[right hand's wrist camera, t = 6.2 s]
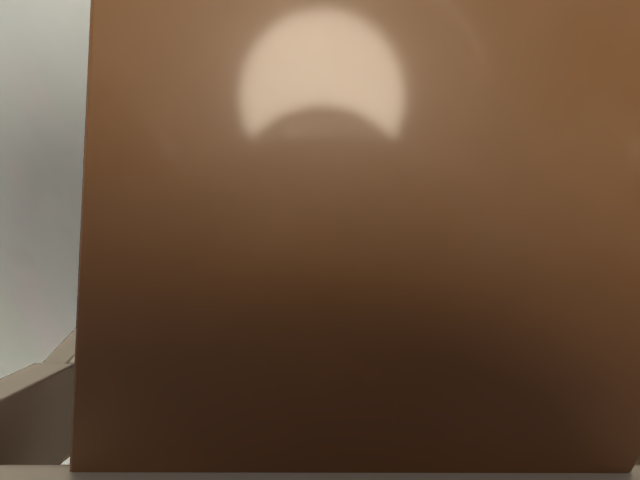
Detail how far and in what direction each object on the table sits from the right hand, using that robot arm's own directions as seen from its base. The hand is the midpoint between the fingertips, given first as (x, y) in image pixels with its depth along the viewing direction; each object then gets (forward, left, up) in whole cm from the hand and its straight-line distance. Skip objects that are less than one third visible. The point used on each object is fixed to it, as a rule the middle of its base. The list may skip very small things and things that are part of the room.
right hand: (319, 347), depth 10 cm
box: (+2, +9, -4) cm, 10 cm away
